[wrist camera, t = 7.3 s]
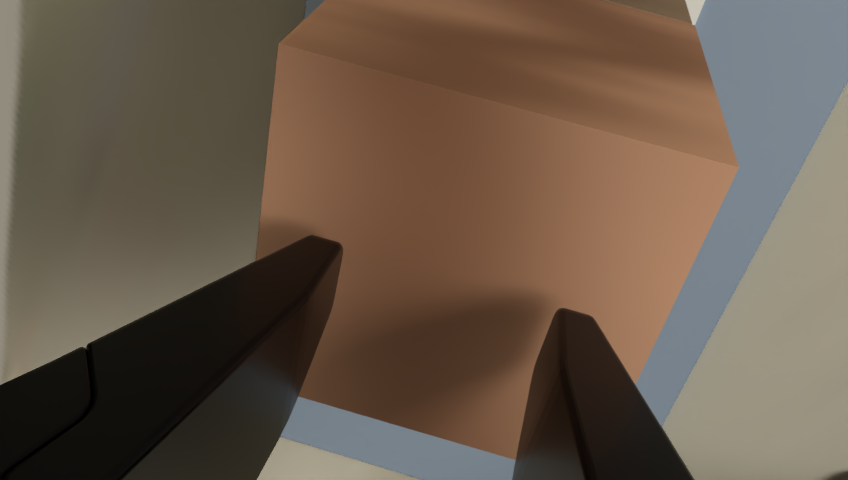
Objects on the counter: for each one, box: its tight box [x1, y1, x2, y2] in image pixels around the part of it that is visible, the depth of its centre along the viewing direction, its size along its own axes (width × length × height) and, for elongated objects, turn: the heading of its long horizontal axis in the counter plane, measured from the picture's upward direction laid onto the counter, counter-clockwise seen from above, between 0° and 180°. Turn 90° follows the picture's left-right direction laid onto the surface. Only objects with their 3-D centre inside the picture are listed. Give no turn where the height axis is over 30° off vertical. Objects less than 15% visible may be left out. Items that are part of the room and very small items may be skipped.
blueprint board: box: [280, 0, 848, 480], centre depth 21 cm, size 12×19×1 cm, turn 168°
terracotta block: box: [256, 0, 739, 460], centre depth 12 cm, size 5×5×5 cm
